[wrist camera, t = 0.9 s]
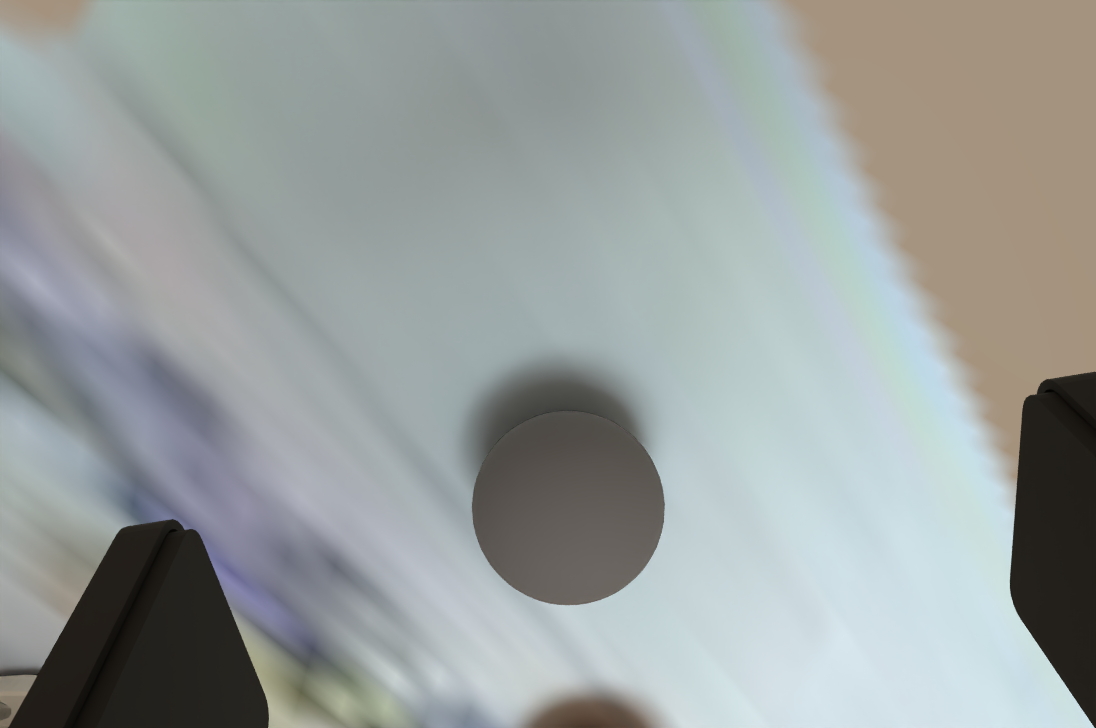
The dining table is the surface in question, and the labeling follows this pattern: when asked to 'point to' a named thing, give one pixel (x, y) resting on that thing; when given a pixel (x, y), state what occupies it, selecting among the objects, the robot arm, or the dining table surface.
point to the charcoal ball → (568, 507)
